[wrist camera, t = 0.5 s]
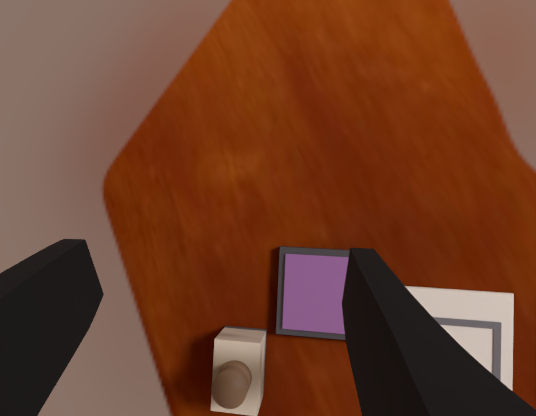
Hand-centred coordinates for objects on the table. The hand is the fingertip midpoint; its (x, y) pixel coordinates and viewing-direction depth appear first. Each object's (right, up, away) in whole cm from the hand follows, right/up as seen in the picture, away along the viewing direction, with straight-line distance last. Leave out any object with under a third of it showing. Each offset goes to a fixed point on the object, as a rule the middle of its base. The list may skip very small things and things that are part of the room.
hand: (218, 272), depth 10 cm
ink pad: (+6, -6, +23) cm, 25 cm away
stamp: (-1, -13, +24) cm, 27 cm away
